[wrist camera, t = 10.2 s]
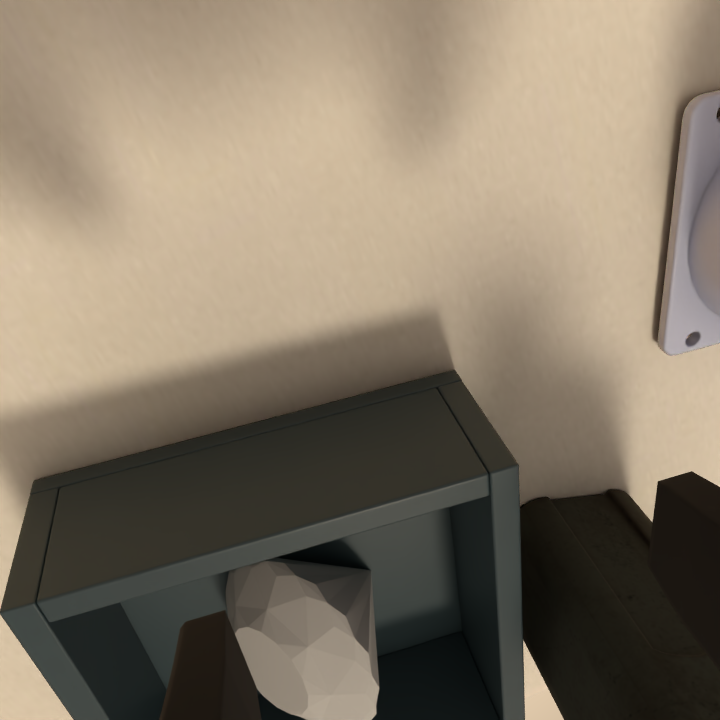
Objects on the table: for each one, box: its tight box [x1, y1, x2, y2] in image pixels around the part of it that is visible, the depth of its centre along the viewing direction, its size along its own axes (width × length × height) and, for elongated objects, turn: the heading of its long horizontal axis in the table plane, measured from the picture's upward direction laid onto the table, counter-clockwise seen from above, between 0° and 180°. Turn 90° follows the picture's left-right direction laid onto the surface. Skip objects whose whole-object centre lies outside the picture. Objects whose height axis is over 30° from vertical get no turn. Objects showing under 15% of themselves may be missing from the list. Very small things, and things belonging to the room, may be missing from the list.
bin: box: [0, 370, 525, 720], centre depth 21 cm, size 13×13×5 cm
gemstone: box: [226, 558, 379, 720], centre depth 22 cm, size 6×6×5 cm
